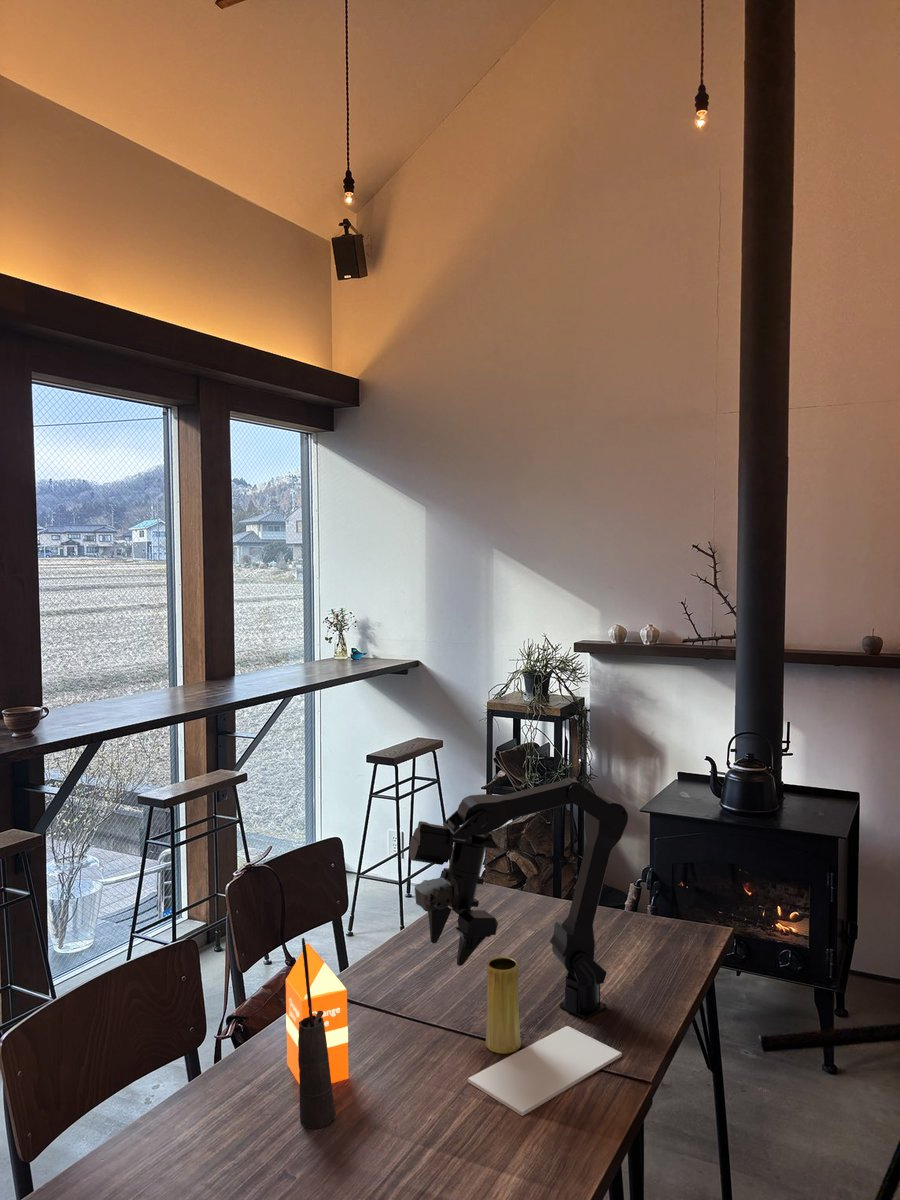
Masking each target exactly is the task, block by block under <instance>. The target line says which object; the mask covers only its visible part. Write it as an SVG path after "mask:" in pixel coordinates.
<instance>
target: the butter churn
mask: <svg viewBox="0 0 900 1200" xmlns="http://www.w3.org/2000/svg"><path fill="white" fill-rule="evenodd" d="M301 945H302V946H301V948H302V949H301V950H302V951H303V958H304V968H305V978H306V989H307V999H308V1007H309V1017H307V1018H303V1019H302V1020H301V1021H299V1032H298V1034H299V1038H298V1048H299V1049H298V1051H299V1052H298V1065H299V1080H300V1084H299V1091H298V1093H299V1122H300V1123H301V1125H302V1126H303V1127H304V1128H308V1129H311V1130H316V1129H317V1130H318V1129H320V1128H321V1129H322V1128H324V1127H327V1126H329V1125H331V1122H332V1121H333V1120H335V1119H336V1107H335V1101H334V1093H333V1083H331V1075H330V1065H329V1054H328V1049H327V1041H326V1034H325V1027H324V1021H323V1018H321V1017H322V1015H323V1013H324V1012H323V1011H318V1012H317V1015H316V1016H315V1015H314V1016H313V1014H312V1003H311V993H310V983H309V971H308V959H307V950H306V939H305V938H304V937H302V939H301Z"/></svg>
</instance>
